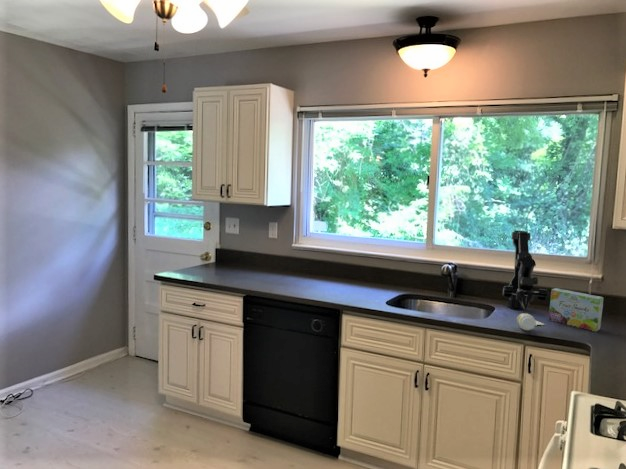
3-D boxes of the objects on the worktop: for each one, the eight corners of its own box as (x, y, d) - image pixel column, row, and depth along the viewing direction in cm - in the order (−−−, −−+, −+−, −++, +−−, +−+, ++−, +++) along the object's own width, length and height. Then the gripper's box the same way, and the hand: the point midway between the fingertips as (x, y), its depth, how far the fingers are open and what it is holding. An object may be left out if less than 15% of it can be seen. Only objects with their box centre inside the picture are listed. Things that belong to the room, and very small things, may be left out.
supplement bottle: (521, 330, 238) (524, 334, 226) (513, 316, 239) (516, 319, 227) (535, 323, 237) (539, 327, 225) (528, 310, 238) (531, 312, 226)
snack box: (547, 320, 252) (550, 289, 250) (552, 318, 256) (555, 287, 254) (596, 332, 237) (600, 298, 235) (600, 329, 241) (604, 296, 239)
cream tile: (535, 321, 249) (535, 320, 249) (544, 325, 244) (544, 323, 244) (524, 322, 247) (524, 320, 247) (533, 325, 242) (533, 324, 242)
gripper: (505, 268, 244) (505, 297, 235) (550, 271, 240) (551, 301, 230) (502, 282, 253) (502, 310, 243) (545, 286, 248) (547, 315, 239)
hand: (525, 309), depth 239 cm, fingers closed
